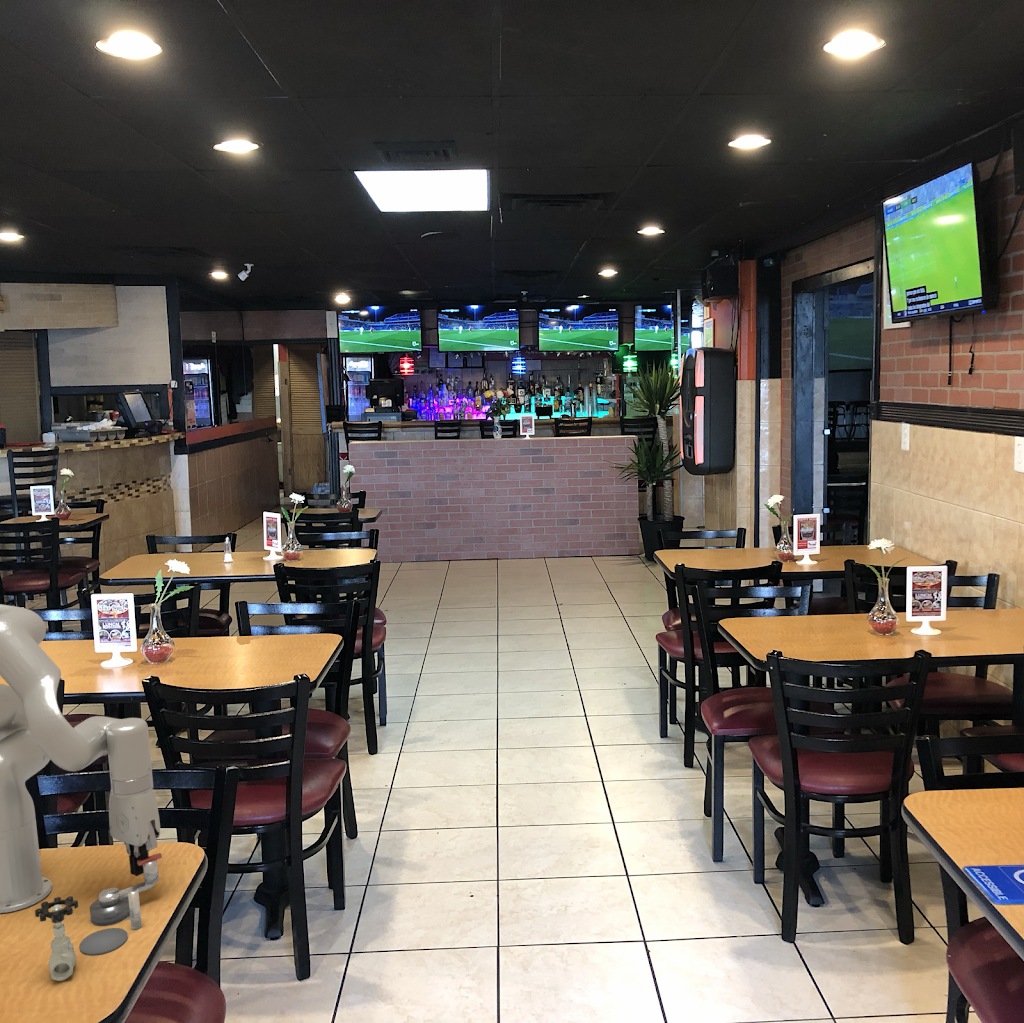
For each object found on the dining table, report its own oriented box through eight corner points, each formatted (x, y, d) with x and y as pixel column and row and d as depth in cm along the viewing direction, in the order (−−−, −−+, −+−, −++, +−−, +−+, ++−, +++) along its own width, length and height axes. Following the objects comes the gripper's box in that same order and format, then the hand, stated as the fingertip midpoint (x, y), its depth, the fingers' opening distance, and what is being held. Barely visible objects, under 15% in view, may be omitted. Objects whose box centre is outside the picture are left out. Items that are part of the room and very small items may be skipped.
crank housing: (82, 923, 174) (78, 888, 173) (108, 904, 181) (105, 869, 180) (136, 930, 171) (133, 894, 170) (161, 910, 177) (157, 875, 176)
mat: (69, 952, 165) (69, 950, 165) (100, 927, 172) (100, 925, 172) (107, 957, 162) (106, 955, 162) (137, 932, 170) (137, 930, 170)
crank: (102, 908, 173) (99, 878, 173) (96, 901, 176) (93, 872, 176) (166, 885, 181) (164, 856, 181) (159, 878, 184) (157, 850, 183)
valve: (40, 988, 154) (33, 920, 153) (43, 967, 160) (36, 901, 159) (84, 977, 157) (77, 910, 156) (85, 956, 163) (78, 892, 162)
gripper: (91, 783, 182) (99, 872, 184) (139, 797, 174) (148, 890, 176) (125, 769, 188) (133, 855, 190) (173, 782, 180) (181, 872, 182)
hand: (140, 872), depth 183 cm, fingers closed
